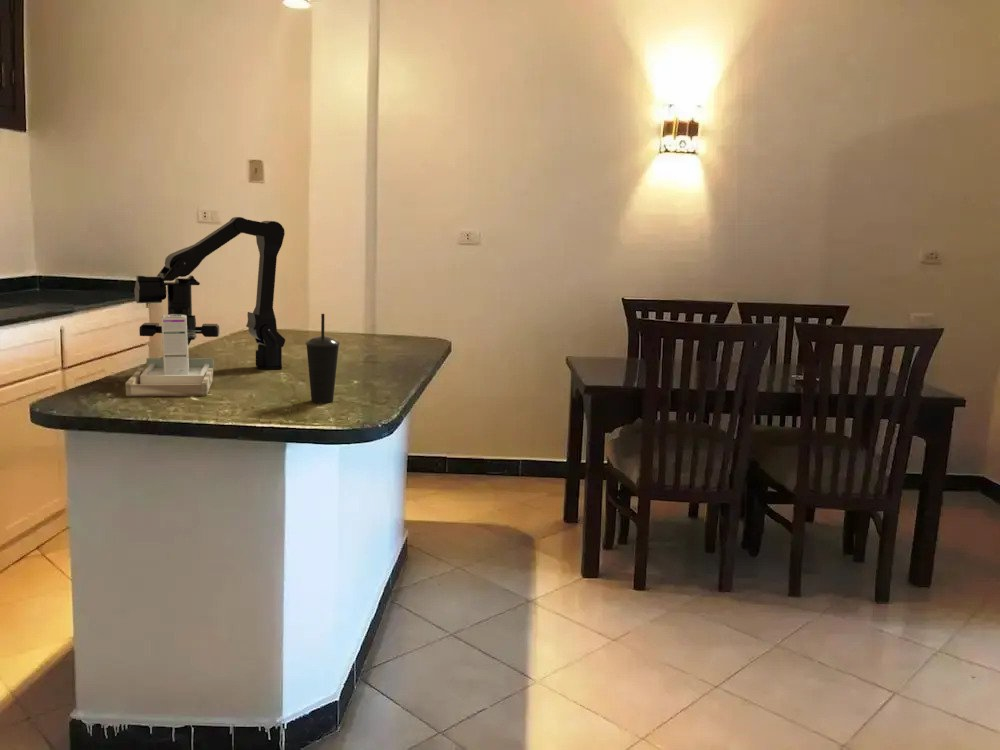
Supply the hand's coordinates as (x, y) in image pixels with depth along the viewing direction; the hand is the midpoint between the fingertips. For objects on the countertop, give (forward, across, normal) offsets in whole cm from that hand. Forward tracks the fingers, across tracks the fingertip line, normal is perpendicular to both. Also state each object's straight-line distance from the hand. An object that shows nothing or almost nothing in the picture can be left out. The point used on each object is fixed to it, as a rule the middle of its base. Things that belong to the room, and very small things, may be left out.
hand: (181, 363), depth 213 cm
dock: (+3, 0, -20) cm, 20 cm away
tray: (+3, 0, -10) cm, 11 cm away
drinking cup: (+3, +34, -36) cm, 50 cm away
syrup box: (+1, 0, -12) cm, 12 cm away
